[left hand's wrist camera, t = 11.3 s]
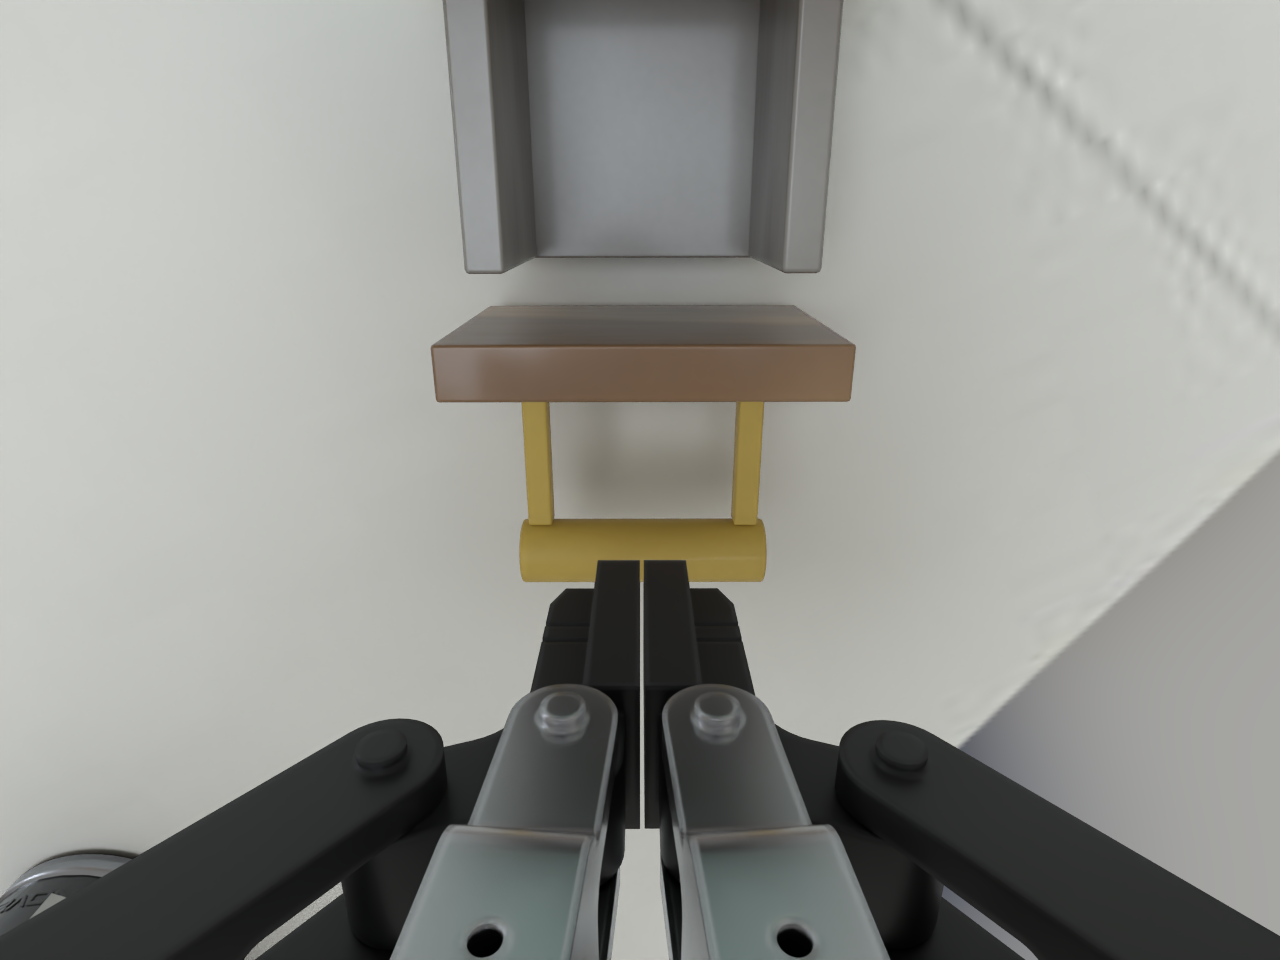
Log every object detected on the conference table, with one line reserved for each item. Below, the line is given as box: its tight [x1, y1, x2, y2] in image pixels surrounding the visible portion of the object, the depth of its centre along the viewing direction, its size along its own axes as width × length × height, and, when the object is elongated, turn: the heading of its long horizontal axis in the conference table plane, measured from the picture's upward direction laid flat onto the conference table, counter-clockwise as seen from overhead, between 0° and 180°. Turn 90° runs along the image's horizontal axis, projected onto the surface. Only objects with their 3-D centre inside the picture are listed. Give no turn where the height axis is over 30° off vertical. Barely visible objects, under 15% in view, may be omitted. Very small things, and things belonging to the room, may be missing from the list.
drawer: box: [431, 0, 856, 582], centre depth 16 cm, size 21×9×6 cm, turn 0°
